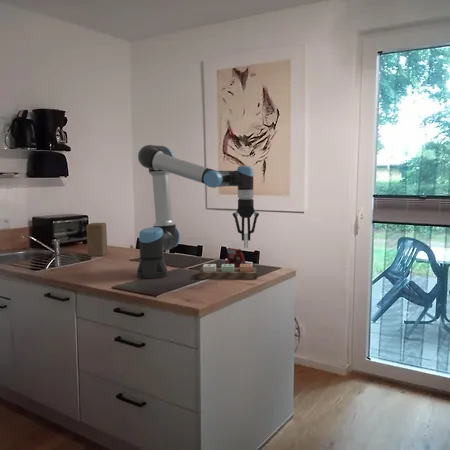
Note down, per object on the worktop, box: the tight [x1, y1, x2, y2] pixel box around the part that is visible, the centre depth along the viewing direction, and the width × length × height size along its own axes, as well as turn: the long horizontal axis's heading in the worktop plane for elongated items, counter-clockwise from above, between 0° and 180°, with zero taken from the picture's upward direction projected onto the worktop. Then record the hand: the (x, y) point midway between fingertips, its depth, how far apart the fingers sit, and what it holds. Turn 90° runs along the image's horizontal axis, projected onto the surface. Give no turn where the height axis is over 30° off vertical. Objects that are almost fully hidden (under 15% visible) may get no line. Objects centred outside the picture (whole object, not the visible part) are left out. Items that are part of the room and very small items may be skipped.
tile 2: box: [220, 263, 234, 272], centre depth 220 cm, size 6×6×3 cm
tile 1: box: [202, 263, 217, 272], centre depth 220 cm, size 6×6×3 cm
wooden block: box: [86, 222, 108, 257], centre depth 282 cm, size 10×10×20 cm
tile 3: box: [239, 263, 254, 272], centre depth 219 cm, size 6×6×3 cm
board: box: [197, 267, 258, 280], centre depth 220 cm, size 28×12×3 cm, turn 86°
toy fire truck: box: [224, 247, 247, 268], centre depth 239 cm, size 7×12×10 cm, turn 42°
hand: (246, 247), depth 218 cm, fingers closed
